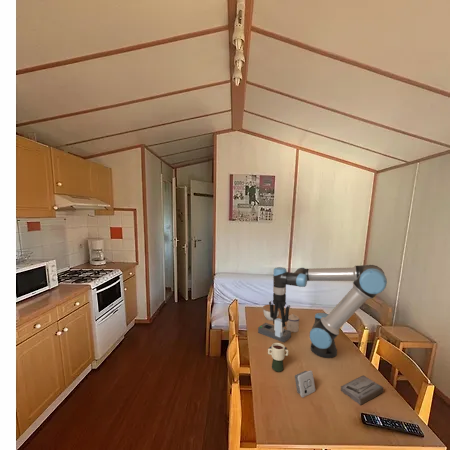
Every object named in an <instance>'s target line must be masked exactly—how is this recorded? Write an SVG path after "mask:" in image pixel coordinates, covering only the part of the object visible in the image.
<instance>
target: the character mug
mask: <svg viewBox="0 0 450 450" xmlns="http://www.w3.org/2000/svg"><path fill="white" fill-rule="evenodd" d="M271 346H272V349H269V348H267V354H268V355H270V356H271V359H272V363H271V368H272V370H273V371H275V372H278V373H279V372H282V371H283V370H284V359H285V356H286V357H288V355H289V350H288V349H286V350H285V347H286V346H285V344H283V343H281V342H274V343H272V344H271Z"/></svg>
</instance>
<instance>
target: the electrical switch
mask: <svg viewBox="0 0 450 450" xmlns="http://www.w3.org/2000/svg"><path fill="white" fill-rule="evenodd" d="M313 373H314V372H313V371H312V370H304V371H302V372H299V373H296V374H294V380H295V386H296V392H297V393H298V394H299V395H300V397H301V398H305V397H307V396H309V395H311V394H312V393H315V392H316V384H315V379H314V374H313Z"/></svg>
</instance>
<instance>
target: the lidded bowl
mask: <svg viewBox="0 0 450 450" xmlns="http://www.w3.org/2000/svg"><path fill="white" fill-rule="evenodd" d="M273 305H274V304H273ZM274 308H275V305H274ZM262 309H263V312H262V313H263V315H264V317H265V318H266V320H268V321H273V318H271V317H270V304H265V305H263V306H262ZM274 310H275V309H274ZM279 315H280V309H279V308H278V313H277V318H279Z"/></svg>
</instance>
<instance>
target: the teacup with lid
mask: <svg viewBox="0 0 450 450" xmlns="http://www.w3.org/2000/svg"><path fill="white" fill-rule="evenodd" d="M285 327H286V328H285V329H286V330H289V331H291V333H297V332H299V330H300V328H299V327H300V317H299V316H298V315H295V313H291V314H289V317H288V321H287V322H286V324H285Z"/></svg>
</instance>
